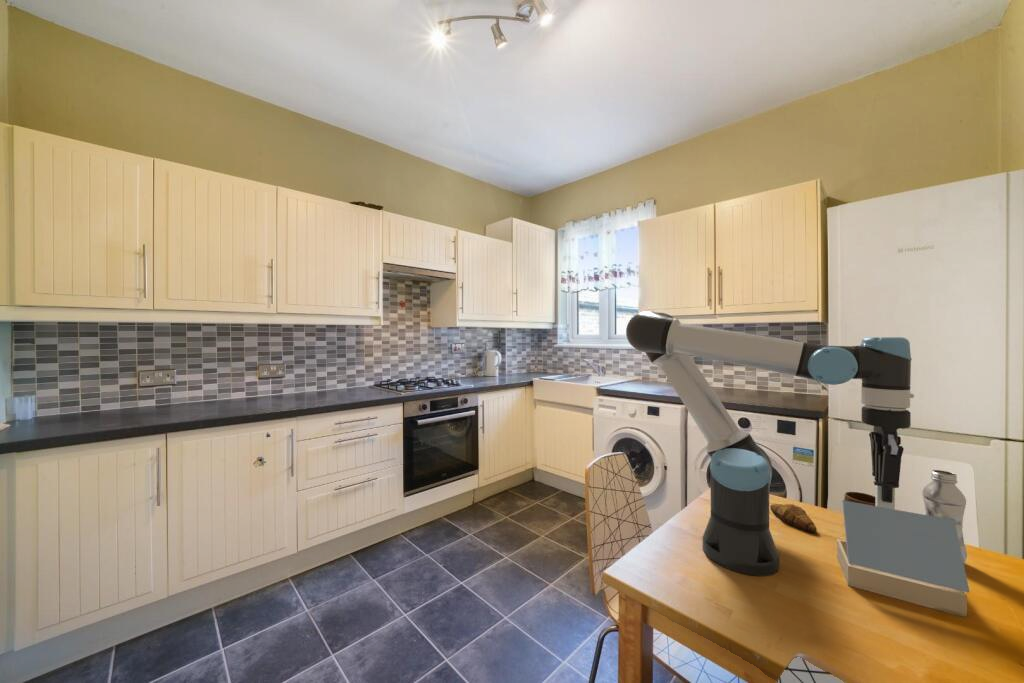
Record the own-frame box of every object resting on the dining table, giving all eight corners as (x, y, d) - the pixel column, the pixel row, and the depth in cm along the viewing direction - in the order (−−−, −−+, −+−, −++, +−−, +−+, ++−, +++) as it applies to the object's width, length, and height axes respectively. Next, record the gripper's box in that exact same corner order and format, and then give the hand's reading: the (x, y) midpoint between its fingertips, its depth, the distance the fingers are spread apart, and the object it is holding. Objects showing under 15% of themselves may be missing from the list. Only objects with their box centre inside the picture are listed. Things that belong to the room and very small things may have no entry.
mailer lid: (848, 562, 75) (849, 562, 74) (842, 501, 80) (843, 500, 79) (967, 592, 66) (969, 592, 65) (952, 520, 71) (954, 520, 70)
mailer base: (848, 585, 75) (848, 565, 75) (836, 556, 85) (836, 538, 85) (966, 617, 66) (966, 595, 66) (938, 580, 76) (938, 561, 76)
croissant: (827, 534, 95) (827, 515, 95) (803, 536, 94) (803, 516, 94) (782, 510, 108) (782, 493, 108) (761, 511, 108) (761, 494, 108)
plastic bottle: (977, 570, 79) (977, 479, 79) (940, 567, 80) (940, 477, 80) (947, 553, 86) (947, 468, 86) (913, 550, 87) (913, 466, 87)
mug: (913, 551, 87) (913, 512, 86) (882, 552, 86) (882, 512, 86) (863, 525, 99) (863, 491, 98) (836, 526, 98) (836, 491, 98)
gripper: (921, 414, 73) (921, 532, 73) (899, 404, 83) (898, 507, 84) (870, 410, 77) (869, 522, 77) (854, 401, 88) (854, 499, 88)
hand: (884, 514), depth 80 cm, fingers closed
